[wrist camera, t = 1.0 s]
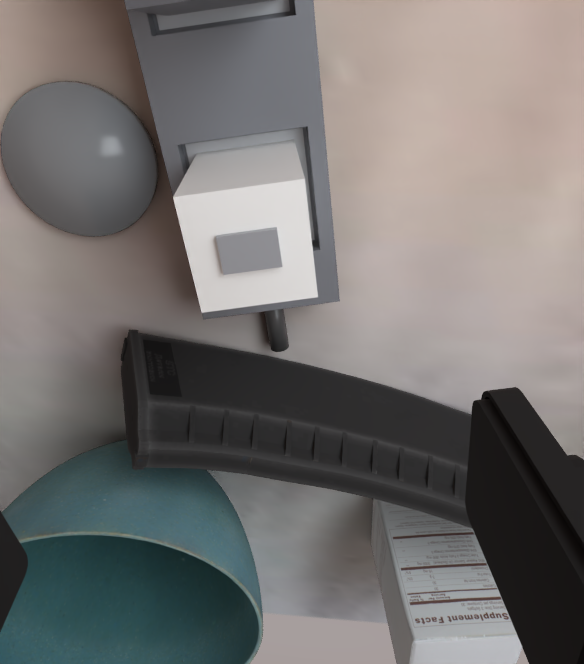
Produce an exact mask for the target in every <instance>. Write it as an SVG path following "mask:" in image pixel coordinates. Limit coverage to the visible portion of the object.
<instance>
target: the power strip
mask: <svg viewBox="0 0 584 664" xmlns="http://www.w3.org/2000/svg"><path fill="white" fill-rule="evenodd" d="M127 13H128V17H129V21H130V25H131V29H132V33H133V37H134V41H135V45H136V49H137V53H138V57H139V61H140V65H141V69H142V73H143V77H144V81H145V85H146V90H147V94H148V98H149V102H150V106H151V110H152V114H153V118H154V122H155V126H156V130H157V134H158V138H159V142H160V146H161V150H162V154H163V158H164V162H165V166H166V170H167V174H168V178H169V182H170V186H171V190H172V194H173V196H174V194H175V193H176V191H177V189H178V187H179V185H180V183H181V182H182V180H183V178H184V176H185V174H186V172H187V171H188V169H189V167H190V165H191V163H192V161H193V159H194V158H195V156H196V154H197V153H201V152H208V151H215V150H222V149H229V148H236V147H243V146H250V145H257V144H264V143H272V142H279V141H286V140H293V139H294V141H295V145H296V149H297V152H298V156H299V159H300V163H301V167H302V170H303V174H304V177H305V185H306V194H307V202H308V211H309V220H310V229H311V238H312V247H313V256H314V265H315V274H316V283H317V292H318V297H316V298H308V299H301V300H293V301H286V302H279V303H271V304H264V305H256V306H249V307H241V308H234V309H226V310H219V311H212V312H204V313H202V315H203V319H211V318H218V317H226V316H233V315H240V314H248V313H255V312H263V311H264V312H265V318H266V324H267V329H268V335H269V341H270V346H271V350H273V351H275V352H281V351H284V350H286V349H287V348H288V347H289V344H288V337H287V331H286V324H285V318H284V311H283V309H285V308H293V307H300V306H308V305H315V304H322V303H330V302H337V301H340V299H339V288H338V276H337V265H336V254H335V242H334V231H333V219H332V208H331V197H330V185H329V174H328V162H327V151H326V140H325V128H324V117H323V105H322V94H321V83H320V71H319V60H318V48H317V37H316V25H315V14H314V3H313V0H272V1H265V2H258V3H252V4H245V5H238V6H232V7H225V8H218V9H211V10H205V11H198V12H191V13H184V14H178V15H171V16H164V15H158V14H151V13H144V12H137V11H131V10H127Z"/></svg>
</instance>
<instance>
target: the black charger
mask: <svg viewBox="0 0 584 664" xmlns="http://www.w3.org/2000/svg"><path fill="white" fill-rule="evenodd" d="M265 1H272V0H124V2H125V6H126V10H131V11H137V12H144V13H151V14H158V15H164V16H171V15H178V14H184V13H191V12H198V11H205V10H211V9H218V8H225V7H232V6H238V5H245V4H252V3H258V2H265Z"/></svg>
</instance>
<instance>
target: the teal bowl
mask: <svg viewBox="0 0 584 664" xmlns="http://www.w3.org/2000/svg"><path fill="white" fill-rule="evenodd" d="M2 514H3V516H4V518H5V519H6V521H7V523H8V524H9V526H10V527H11V529H12V531H13V532H14V534H15V536H16V537H17V539H18V540H19V542H20V544H21V545H22V547H23V549H24V550H25V552H26V554H27V557H28V567H27V572H26V575H25V577H24V579H23V582H22V584H21V586H20V588H19V591H18V593H17V595H16V598H15V600H14V602H13V604H12V607H11V609H10V611H9V614H8V616H7V618H6V620H5V623H4V625H3V627H2V630H1V632H0V664H250V662H251V661H252V660H253V658H254V657H255V655H256V654H257V652H258V650H259V647H260V644H261V641H262V636H263V614H262V603H261V595H260V587H259V582H258V576H257V571H256V567H255V563H254V559H253V555H252V552H251V548H250V545H249V542H248V539H247V536H246V533H245V531H244V528H243V526H242V523H241V521H240V519H239V517H238V515H237V513H236V511H235V509H234V507H233V505H232V503H231V502H230V500H229V498H228V497H227V495H226V493H225V492H224V491H223V489H222V488H221V486H220V485H219V484H218V483H217V481H216V480H215V479H214V478H213V477H212V476H211V475H210V474H209V473H208V472H207V470H203V469H190V468H145V467H144V469H143V470H133V469H132V459H131V454H130V452H129V450H128V446H127V440H123V441H118V442H114V443H111V444H107V445H104V446H101V447H98V448H95V449H92V450H90V451H87V452H85V453H83V454H80V455H78V456H76V457H74V458H72V459H70V460H68V461H66V462H65V463H63V464H61V465H59V466H58V467H56V468H55V469H53V470H52V471H50V472H49V473H47V474H46V475H44V476H43V477H42V478H40V479H39V480H38V481H36V482H35V483H34V484H33V485H31V486H30V487H29V488H28V489H26V490H25V491H24V492H23V493H22V494H21V495H20V496H18V497H17V498H16V499H15V500H14V501H13V502H12V503H11V504H10V505H9V506H8V507H7V508H6V509H5V510H4V511H3V512H2Z"/></svg>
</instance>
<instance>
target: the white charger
mask: <svg viewBox="0 0 584 664" xmlns="http://www.w3.org/2000/svg"><path fill="white" fill-rule="evenodd" d="M173 199H174V203H175V207H176V211H177V215H178V219H179V223H180V227H181V231H182V236H183V240H184V244H185V248H186V252H187V256H188V260H189V264H190V268H191V272H192V276H193V280H194V284H195V288H196V292H197V296H198V300H199V304H200V308H201V312H202V313H204V312H212V311H219V310H226V309H234V308H241V307H249V306H256V305H264V304H271V303H279V302H286V301H293V300H301V299H308V298H316V297H318V292H317V283H316V274H315V265H314V256H313V247H312V238H311V229H310V220H309V211H308V202H307V194H306V185H305V177H304V174H303V170H302V167H301V163H300V159H299V156H298V152H297V149H296V145H295V141H294V139H293V140H286V141H279V142H272V143H264V144H257V145H250V146H243V147H236V148H229V149H222V150H215V151H208V152H201V153H197V154H196V156H195V158H194V159H193V161H192V163H191V165H190V167H189V169H188V171H187V172H186V174H185V176H184V178H183V180H182V182H181V183H180V185H179V187H178V189H177V191H176V193H175V194H174V196H173Z"/></svg>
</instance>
